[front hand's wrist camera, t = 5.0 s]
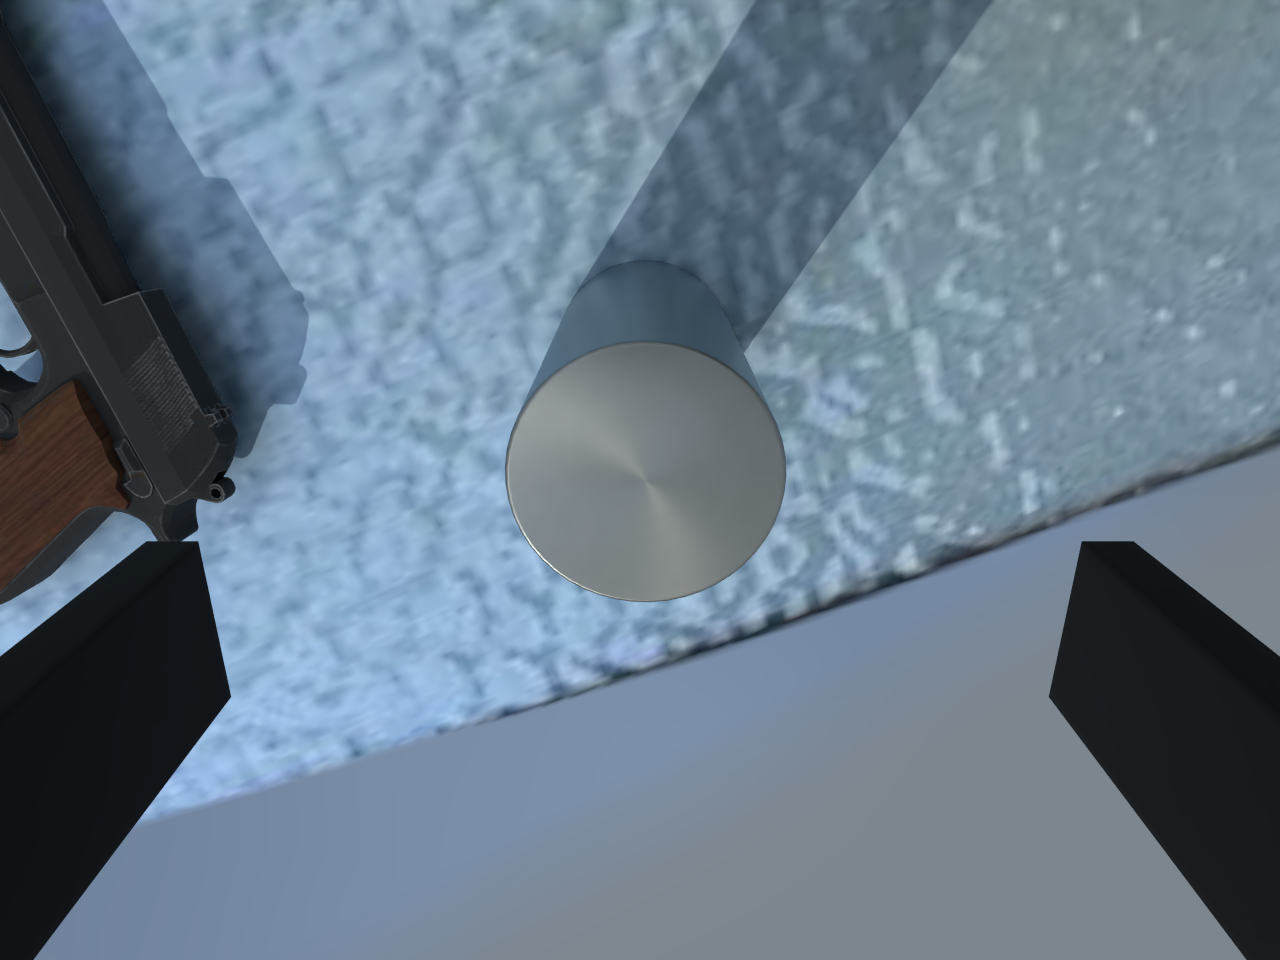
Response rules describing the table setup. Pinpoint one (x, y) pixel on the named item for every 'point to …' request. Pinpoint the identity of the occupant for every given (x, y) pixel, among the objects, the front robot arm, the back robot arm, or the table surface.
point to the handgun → (88, 365)
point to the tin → (645, 441)
